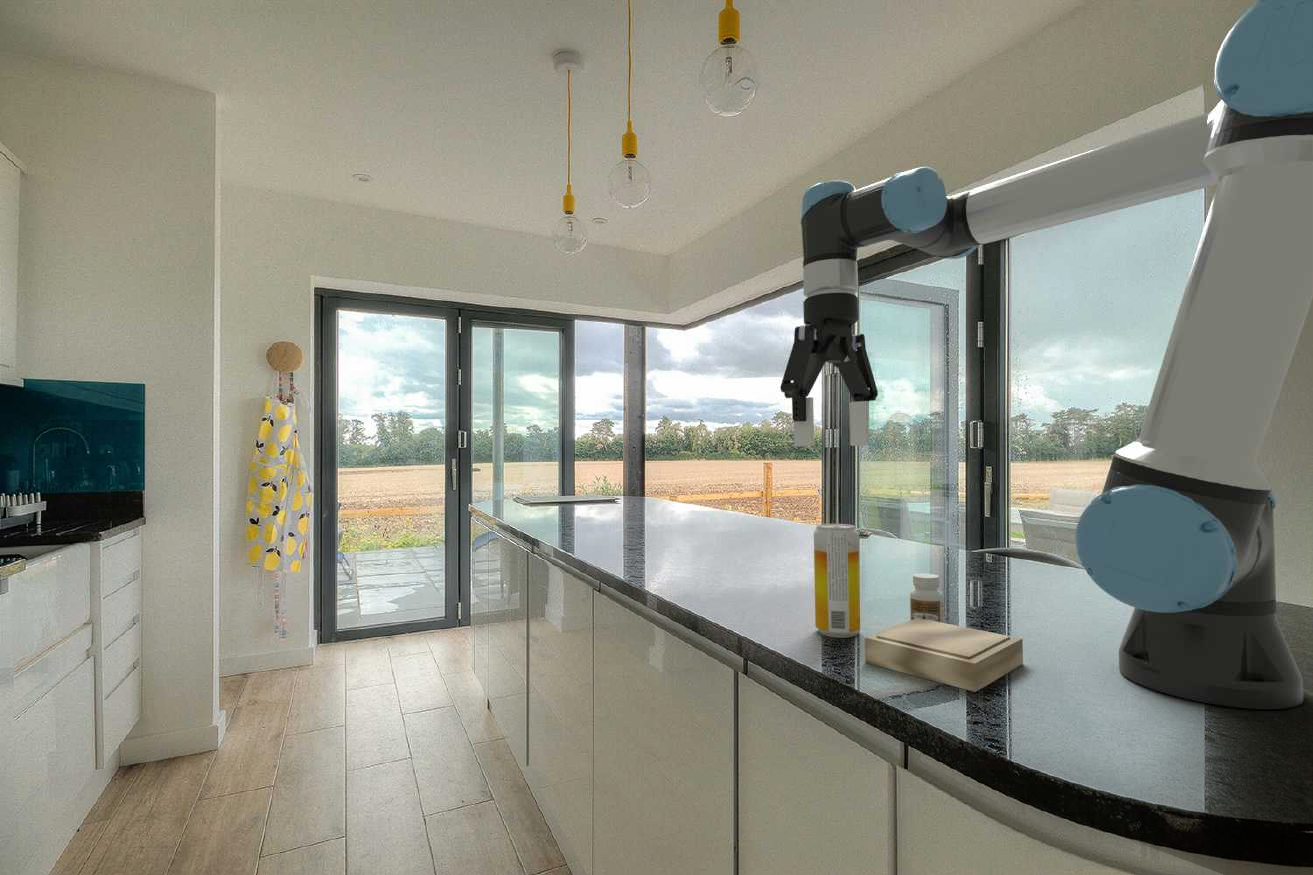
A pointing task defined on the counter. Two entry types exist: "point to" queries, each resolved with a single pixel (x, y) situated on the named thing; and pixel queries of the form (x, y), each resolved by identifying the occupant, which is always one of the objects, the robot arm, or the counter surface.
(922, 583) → the pill bottle
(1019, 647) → the podium
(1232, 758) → the counter surface
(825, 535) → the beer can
